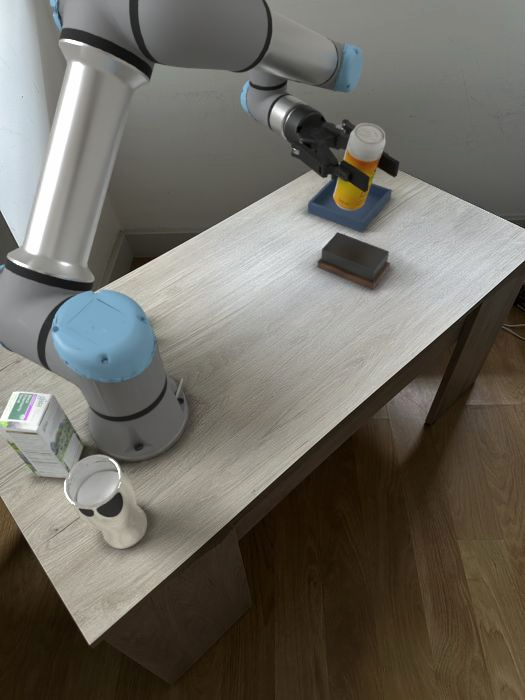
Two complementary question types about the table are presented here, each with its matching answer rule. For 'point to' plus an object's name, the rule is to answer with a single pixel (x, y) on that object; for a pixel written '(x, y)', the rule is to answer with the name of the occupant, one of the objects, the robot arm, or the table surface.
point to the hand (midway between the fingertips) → (381, 177)
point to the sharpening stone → (354, 260)
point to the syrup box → (41, 434)
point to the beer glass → (106, 500)
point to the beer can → (360, 163)
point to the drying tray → (355, 219)
